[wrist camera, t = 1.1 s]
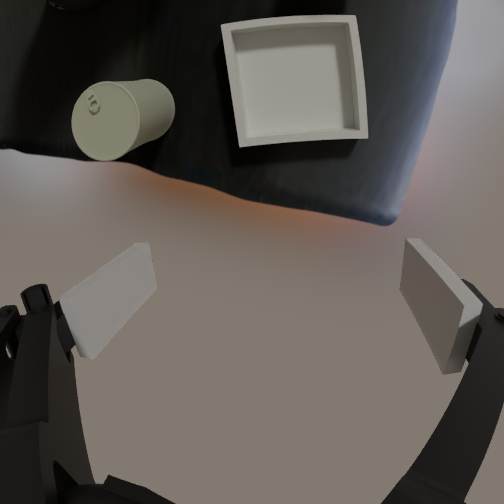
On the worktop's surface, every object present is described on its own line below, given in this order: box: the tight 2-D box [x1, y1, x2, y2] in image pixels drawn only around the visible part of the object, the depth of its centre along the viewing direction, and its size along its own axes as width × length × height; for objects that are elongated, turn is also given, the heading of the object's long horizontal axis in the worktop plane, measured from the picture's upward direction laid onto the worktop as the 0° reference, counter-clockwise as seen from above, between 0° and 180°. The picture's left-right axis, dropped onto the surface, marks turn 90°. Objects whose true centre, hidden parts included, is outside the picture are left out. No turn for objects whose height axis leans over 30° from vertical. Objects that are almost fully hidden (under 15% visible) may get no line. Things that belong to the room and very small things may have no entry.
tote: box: [221, 15, 368, 147], centre depth 33 cm, size 16×16×4 cm
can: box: [72, 79, 175, 161], centre depth 33 cm, size 9×9×12 cm
